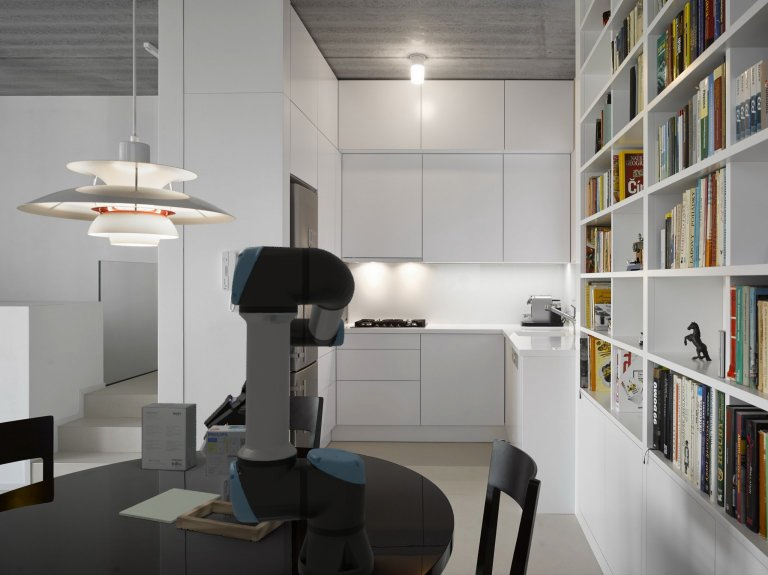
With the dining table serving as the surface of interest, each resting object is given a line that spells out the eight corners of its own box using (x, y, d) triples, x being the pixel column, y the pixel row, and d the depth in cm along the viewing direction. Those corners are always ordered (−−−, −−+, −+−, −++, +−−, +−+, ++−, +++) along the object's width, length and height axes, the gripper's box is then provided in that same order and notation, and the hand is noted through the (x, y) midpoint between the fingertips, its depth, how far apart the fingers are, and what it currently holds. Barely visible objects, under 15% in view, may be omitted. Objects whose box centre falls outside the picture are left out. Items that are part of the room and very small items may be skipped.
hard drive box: (197, 464, 189) (197, 403, 189) (185, 471, 181) (186, 407, 182) (153, 462, 191) (153, 402, 192) (140, 469, 184) (140, 406, 184)
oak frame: (256, 541, 129) (257, 530, 129) (176, 527, 137) (176, 517, 137) (286, 520, 142) (286, 510, 142) (211, 509, 149) (211, 499, 149)
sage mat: (170, 523, 139) (170, 521, 139) (118, 514, 145) (118, 512, 145) (221, 497, 158) (221, 494, 158) (173, 490, 164) (173, 488, 164)
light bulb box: (255, 467, 144) (256, 424, 144) (250, 476, 137) (250, 430, 137) (212, 468, 144) (212, 424, 144) (204, 476, 137) (205, 430, 137)
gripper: (305, 394, 151) (274, 469, 136) (227, 388, 159) (190, 459, 145) (295, 376, 146) (262, 452, 131) (216, 372, 154) (176, 443, 140)
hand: (224, 456), depth 138 cm, fingers closed on light bulb box, 12 cm apart
